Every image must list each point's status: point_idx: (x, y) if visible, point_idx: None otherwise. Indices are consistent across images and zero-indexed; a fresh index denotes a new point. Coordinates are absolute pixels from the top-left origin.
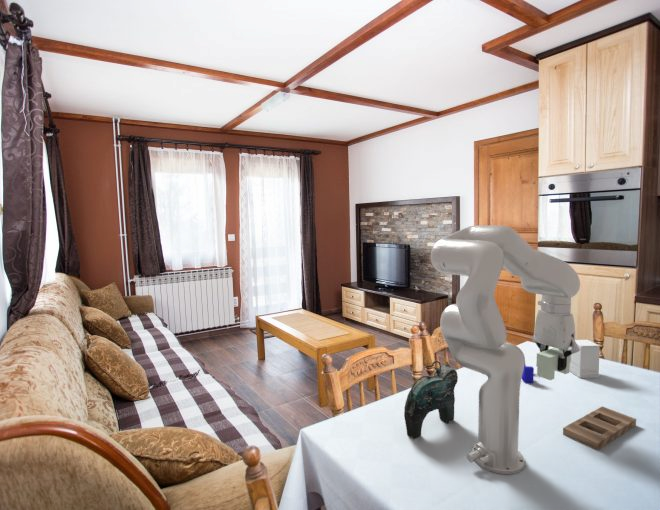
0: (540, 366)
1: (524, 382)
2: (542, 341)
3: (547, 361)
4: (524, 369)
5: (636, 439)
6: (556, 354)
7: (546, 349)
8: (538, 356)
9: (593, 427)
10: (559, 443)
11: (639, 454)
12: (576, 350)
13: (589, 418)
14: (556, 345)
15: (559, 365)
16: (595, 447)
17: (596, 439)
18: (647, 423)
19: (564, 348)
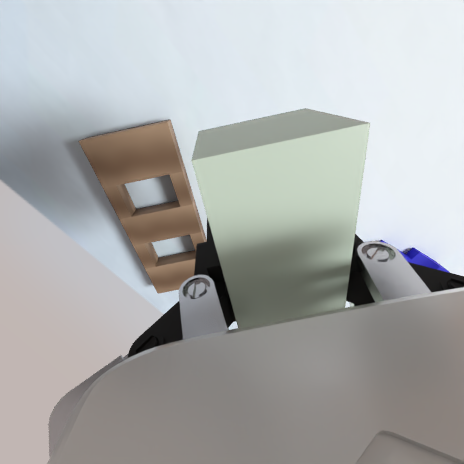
0: (275, 117)
1: (382, 240)
2: (457, 322)
3: (221, 140)
4: (407, 261)
5: (118, 248)
6: (235, 277)
7: (356, 291)
8: (330, 124)
9: (163, 206)
10: (133, 64)
11: (66, 208)
12: (63, 413)
13: (185, 222)
14: (213, 364)
15: (208, 233)
16: (89, 137)
17: (96, 154)
18: (161, 302)
19: (106, 373)
